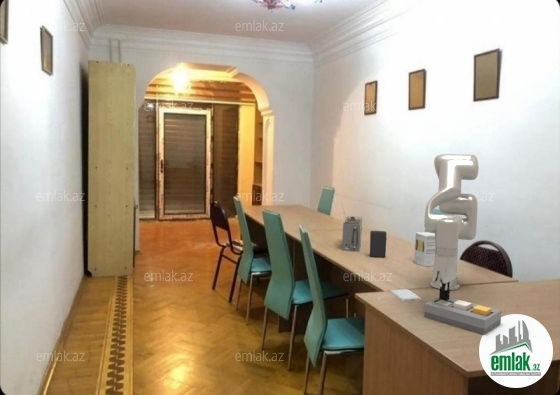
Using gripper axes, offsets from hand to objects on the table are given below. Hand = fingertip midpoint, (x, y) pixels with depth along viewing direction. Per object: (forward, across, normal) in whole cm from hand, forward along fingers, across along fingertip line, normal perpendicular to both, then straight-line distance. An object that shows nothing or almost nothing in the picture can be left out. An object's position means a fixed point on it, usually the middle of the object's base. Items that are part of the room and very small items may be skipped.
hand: (444, 299), depth 170 cm
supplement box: (+8, -65, -43) cm, 78 cm away
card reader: (+8, -59, -70) cm, 92 cm away
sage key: (+4, +1, 0) cm, 4 cm away
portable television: (+9, -68, -96) cm, 118 cm away
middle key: (+2, +1, +7) cm, 8 cm away
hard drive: (+7, -8, -21) cm, 24 cm away
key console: (+6, +1, +7) cm, 9 cm away
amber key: (+2, +1, +14) cm, 14 cm away
